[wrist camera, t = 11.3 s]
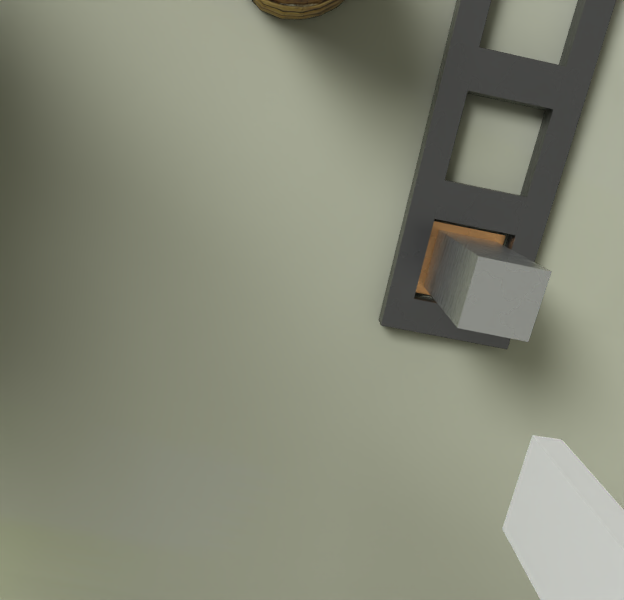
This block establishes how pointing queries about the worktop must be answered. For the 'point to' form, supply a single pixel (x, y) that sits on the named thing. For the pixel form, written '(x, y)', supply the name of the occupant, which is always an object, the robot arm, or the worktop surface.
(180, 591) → the worktop surface
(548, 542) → the robot arm
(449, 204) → the dark grey slotted board
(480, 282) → the steel peg
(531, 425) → the worktop surface
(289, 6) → the wooden mug
